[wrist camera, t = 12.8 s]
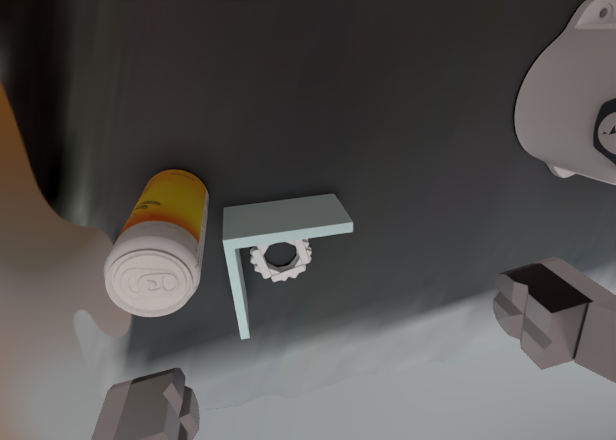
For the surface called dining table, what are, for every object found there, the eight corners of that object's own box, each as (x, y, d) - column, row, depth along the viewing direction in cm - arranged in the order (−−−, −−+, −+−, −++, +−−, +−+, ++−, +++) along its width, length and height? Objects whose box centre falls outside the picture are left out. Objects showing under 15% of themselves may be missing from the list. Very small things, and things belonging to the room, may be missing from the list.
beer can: (142, 166, 35) (89, 247, 22) (207, 167, 36) (196, 243, 23) (149, 222, 37) (107, 325, 24) (210, 221, 39) (201, 318, 25)
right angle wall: (239, 294, 44) (241, 339, 38) (223, 205, 39) (222, 240, 32) (334, 278, 46) (352, 319, 39) (332, 191, 40) (352, 222, 34)
